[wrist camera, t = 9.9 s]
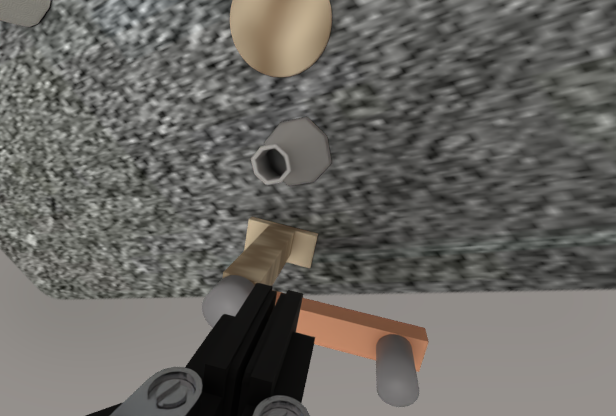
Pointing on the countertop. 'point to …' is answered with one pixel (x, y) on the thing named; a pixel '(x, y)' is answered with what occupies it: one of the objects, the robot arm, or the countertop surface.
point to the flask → (293, 154)
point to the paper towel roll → (23, 11)
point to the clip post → (272, 251)
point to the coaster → (280, 33)
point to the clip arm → (344, 336)
